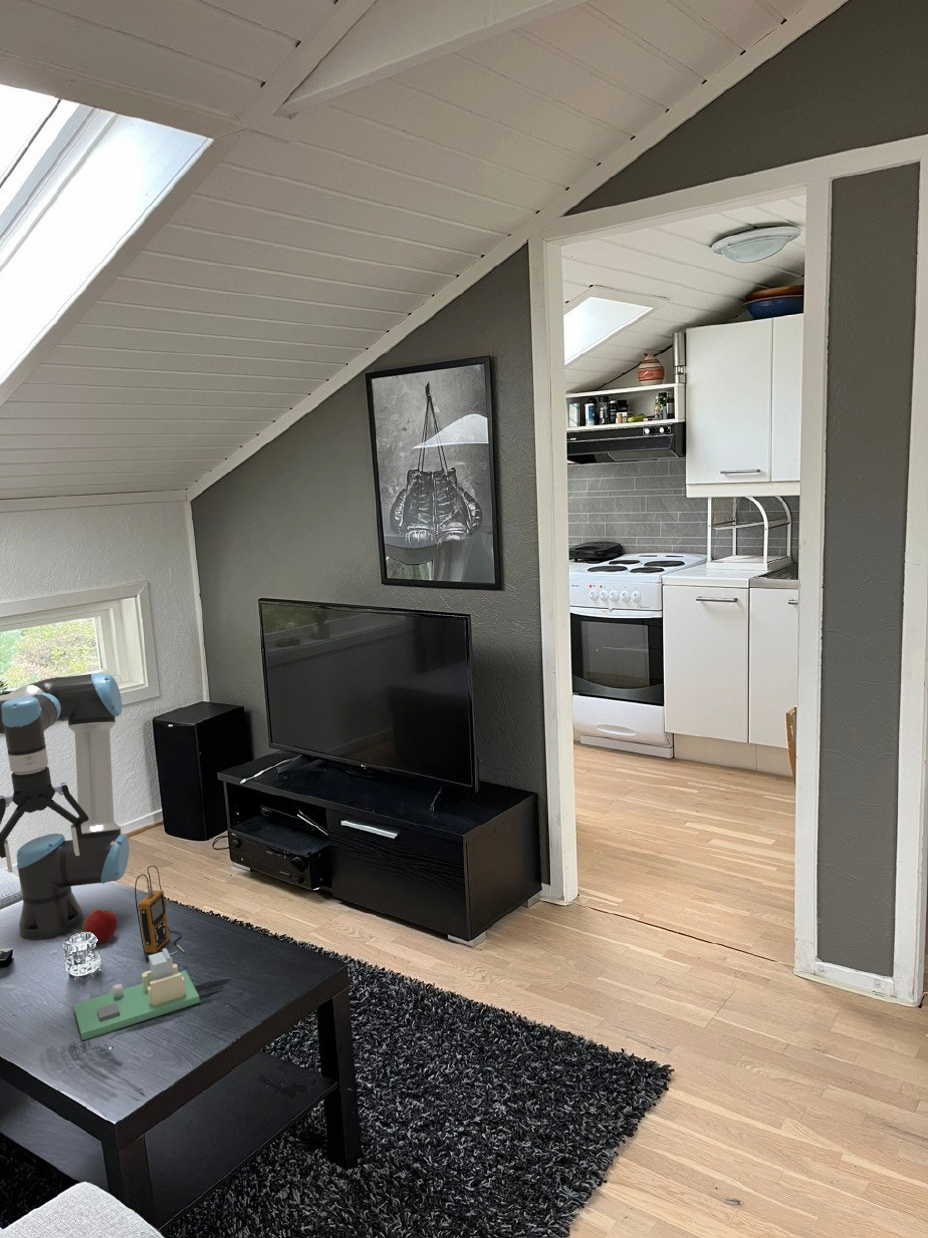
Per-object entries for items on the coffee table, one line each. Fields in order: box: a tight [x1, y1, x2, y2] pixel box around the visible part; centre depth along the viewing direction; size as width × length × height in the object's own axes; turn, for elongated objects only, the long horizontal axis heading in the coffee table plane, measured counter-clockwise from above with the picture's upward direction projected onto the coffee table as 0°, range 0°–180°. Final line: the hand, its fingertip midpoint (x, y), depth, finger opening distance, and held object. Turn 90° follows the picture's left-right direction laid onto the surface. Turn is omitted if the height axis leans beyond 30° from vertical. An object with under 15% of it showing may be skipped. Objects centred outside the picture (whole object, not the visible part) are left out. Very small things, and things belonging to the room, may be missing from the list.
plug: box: [148, 947, 174, 981], centre depth 209 cm, size 5×4×9 cm
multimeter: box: [134, 865, 185, 962], centre depth 231 cm, size 15×10×20 cm
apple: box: [82, 909, 118, 944], centre depth 238 cm, size 8×8×8 cm
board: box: [73, 963, 201, 1041], centre depth 207 cm, size 13×24×6 cm, turn 119°
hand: (44, 862), depth 210 cm, fingers open, 13 cm apart
